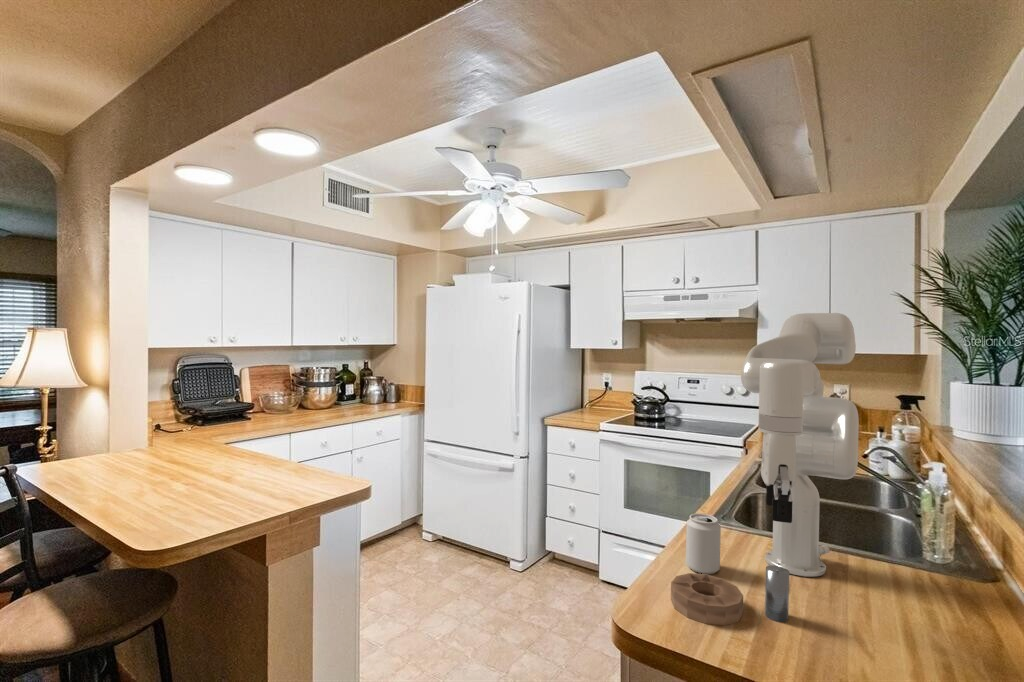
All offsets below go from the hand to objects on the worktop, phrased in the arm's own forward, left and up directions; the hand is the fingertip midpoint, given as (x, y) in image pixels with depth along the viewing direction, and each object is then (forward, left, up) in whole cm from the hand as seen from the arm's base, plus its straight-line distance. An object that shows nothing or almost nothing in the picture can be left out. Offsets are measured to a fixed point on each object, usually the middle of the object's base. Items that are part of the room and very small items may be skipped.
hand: (778, 513), depth 97 cm
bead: (+10, -8, -20) cm, 24 cm away
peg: (0, 0, -20) cm, 20 cm away
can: (-2, -21, -20) cm, 29 cm away
